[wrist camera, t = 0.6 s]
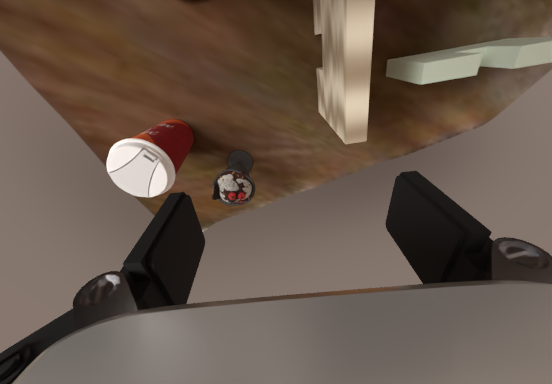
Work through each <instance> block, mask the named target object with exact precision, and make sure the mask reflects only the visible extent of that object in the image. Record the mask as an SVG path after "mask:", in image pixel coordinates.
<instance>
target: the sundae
mask: <svg viewBox="0 0 552 384" xmlns="http://www.w3.org/2000/svg"><path fill="white" fill-rule="evenodd" d="M227 163H228V166H229V167H228V168H227V169H226V170H225V171H223V172H221V173H220V174H219V175H217V177H216V178H215V179H214V181H213V185H212V188H213V189H212V199H213V200H216V199H218V200H219V201H220V202H222V203H224V204H226V205H230V206H236V205H243V204H246V203H247V202H249V201H250V200H251V199H252V197H253V196H254V192H255V185H254V182H253V181H252V180H251V178H249V173H248V171H249V170H250V169H251V168H252V165H253V161H252V158H251V156H250V155H249V154H248V153H246V152H245V151H240V150H238V151H234V152H232V153H231V154H230V155H229V156H228V159H227Z"/></svg>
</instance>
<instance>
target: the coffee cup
mask: <svg viewBox="0 0 552 384" xmlns="http://www.w3.org/2000/svg"><path fill="white" fill-rule="evenodd" d="M193 142H194V135H193V132H192V130H191V128H190V127H189V126H188V125H187V124H186V123H185V122H183V121H181V120H177V119H170V120H167V121H164V122H162V123H160V124H158V125H156V126H154V127H152V128H150V129H148V130H146V131H144V132H143V133H141V134H139V135H137V136H135V137H133V138H130V139H124V140H121V141H119V142H117V143H116V144H115V145H113V147H112V148H111V149H110V152H109V155H108V158H107V171H108V174H109V175H110V177H111V178H112V180H113V181H114V182H115V184H116V185H117V186H118V187H120V188H121V189H123V190H124V191H126V192H128V193H130V194H132V195H135V196H139V197H154V196H157V195H159V194H162V193H164V192H166V191H168V190H169V189H170V188H171V187H172V185H173V183H174V181H175V175H176V173H177V171H178V170H179V168H180V166H181V164H182V163H183V161H184V159H185V158H186V156H187V154H188V152H189V150H190V149H191V147H192V145H193Z"/></svg>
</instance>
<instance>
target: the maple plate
mask: <svg viewBox="0 0 552 384" xmlns="http://www.w3.org/2000/svg"><path fill="white" fill-rule="evenodd" d="M374 9H375V0H313V13H314V31H315V35H318V34H322V57H323V67H321V68H316V69H317V87H318V106H319V113H320V114H321V115H322V116H323V117H324V119H325V120H326V121H327V122H328V123H329V125H330V126H331V127H332V128H333V130H334V131H335V132H336V133H337V134H338V136H339V137H340V138H341V139H342V140H343V142H344V143H345V144H350V143H356V142H363V141H367V125H368V109H369V92H370V76H371V59H372V42H373V26H374Z"/></svg>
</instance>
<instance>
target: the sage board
mask: <svg viewBox="0 0 552 384" xmlns="http://www.w3.org/2000/svg"><path fill="white" fill-rule="evenodd" d="M550 62H552V37H531V38H508V39H501V40H495V41H490V42H484V43H479V44H473V45H467V46H462V47H456V48H451V49H445V50H439V51H434V52H428V53H423V54H417V55H411V56H406V57H400V58H395V59H389V60H387V69H386V77H390V78H394V79H398V80H403V81H407V82H411V83H416V84H420V85H422V84H428V83H434V82H440V81H445V80H451V79H457V78H463V77H469V76H475V75H477V72H478V68H479V67H480V66H484V67H497V68H509V69H515V68H521V67H527V66H533V65H539V64H545V63H550Z"/></svg>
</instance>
